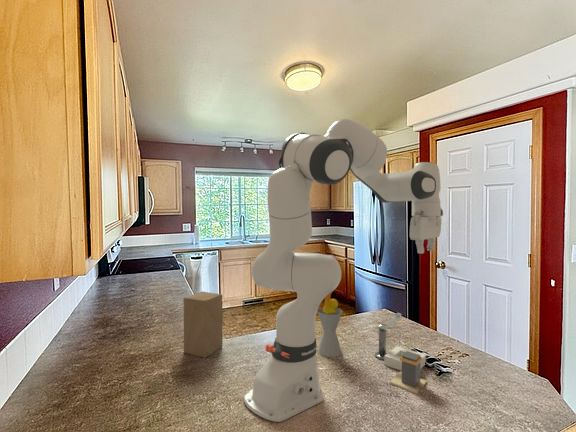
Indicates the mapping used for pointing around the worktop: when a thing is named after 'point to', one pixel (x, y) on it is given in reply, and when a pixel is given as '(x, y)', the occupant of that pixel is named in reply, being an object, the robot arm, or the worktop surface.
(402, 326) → the worktop surface
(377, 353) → the post
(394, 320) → the grey metal bar
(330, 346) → the lava lamp
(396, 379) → the coaster
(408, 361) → the plug
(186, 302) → the wooden block
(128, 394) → the worktop surface
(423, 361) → the socket
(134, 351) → the worktop surface
